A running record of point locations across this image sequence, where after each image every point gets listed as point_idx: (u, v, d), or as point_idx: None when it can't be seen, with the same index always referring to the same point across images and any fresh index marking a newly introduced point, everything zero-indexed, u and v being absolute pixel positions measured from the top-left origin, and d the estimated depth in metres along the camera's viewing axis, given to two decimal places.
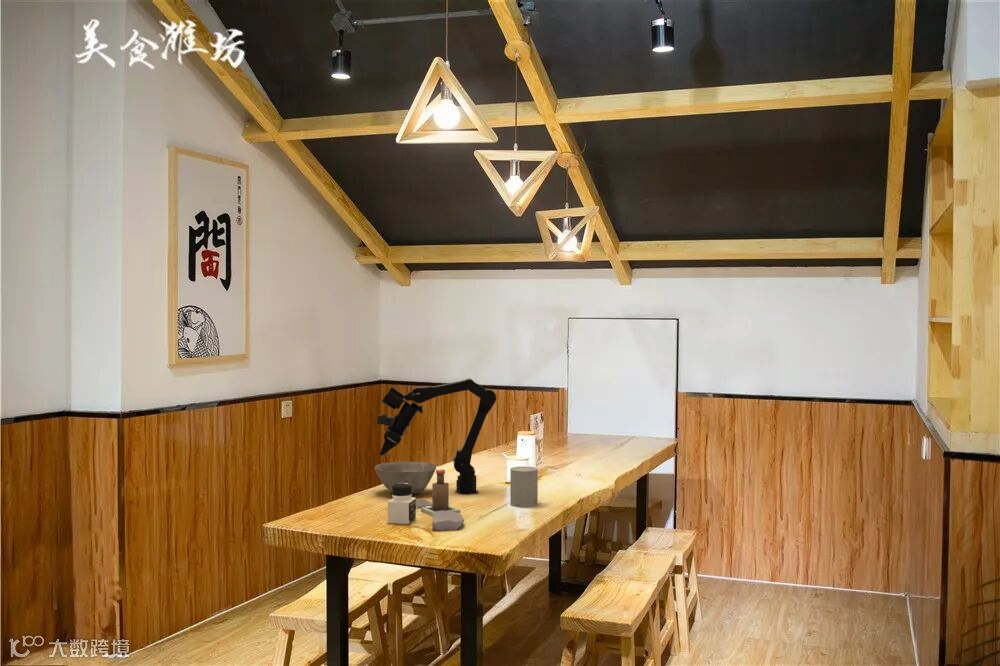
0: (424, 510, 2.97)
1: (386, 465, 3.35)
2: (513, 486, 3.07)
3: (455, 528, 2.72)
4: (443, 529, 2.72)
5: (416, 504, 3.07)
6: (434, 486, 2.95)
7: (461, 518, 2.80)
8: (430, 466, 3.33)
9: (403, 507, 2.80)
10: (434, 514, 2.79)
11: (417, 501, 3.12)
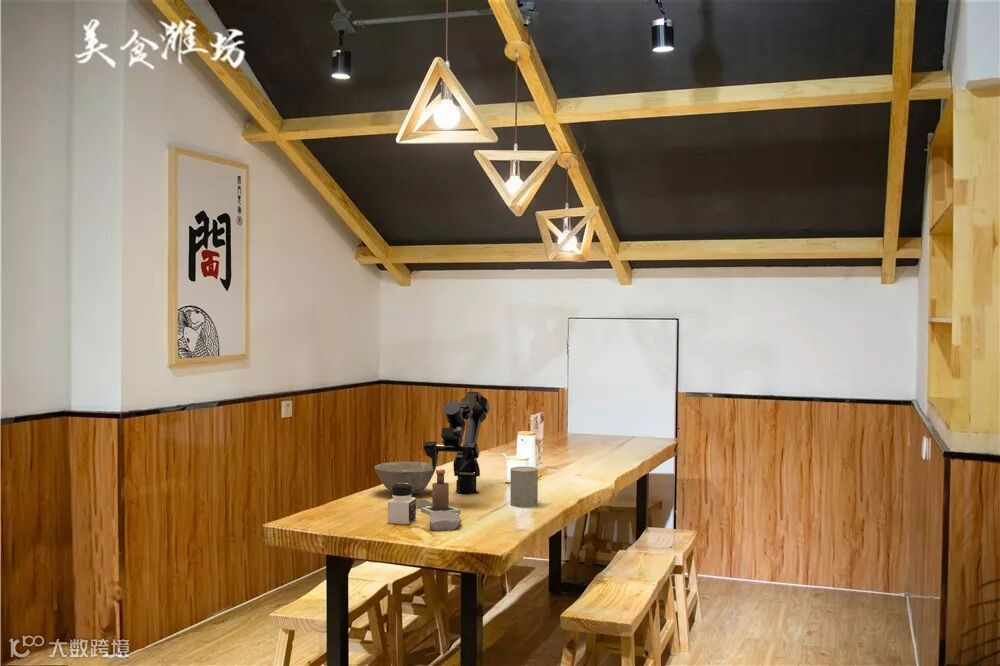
0: (424, 510, 2.97)
1: (386, 465, 3.35)
2: (513, 486, 3.07)
3: (452, 528, 2.72)
4: (440, 529, 2.72)
5: (416, 504, 3.07)
6: (434, 486, 2.95)
7: (458, 518, 2.80)
8: (430, 466, 3.33)
9: (403, 507, 2.80)
10: (431, 514, 2.79)
11: (417, 501, 3.12)
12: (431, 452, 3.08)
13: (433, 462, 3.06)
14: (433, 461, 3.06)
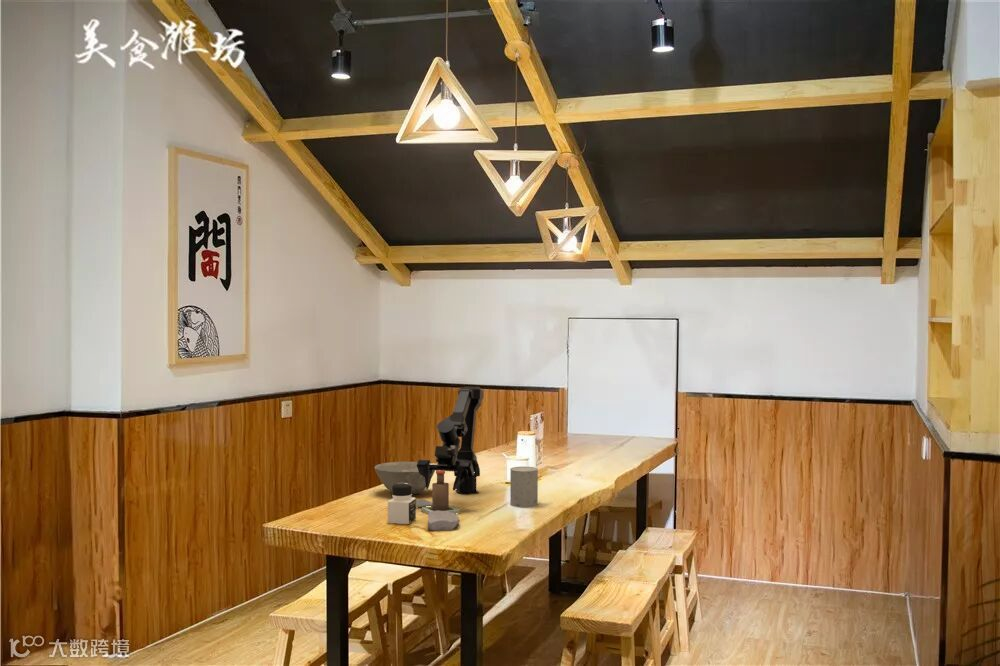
0: (424, 510, 2.97)
1: (386, 465, 3.35)
2: (513, 486, 3.07)
3: (450, 528, 2.72)
4: (438, 529, 2.72)
5: (416, 504, 3.07)
6: (434, 486, 2.95)
7: (456, 518, 2.80)
8: None
9: (403, 507, 2.80)
10: (429, 514, 2.79)
11: (417, 501, 3.12)
12: (424, 471, 3.01)
13: (426, 481, 2.98)
14: (426, 480, 2.99)
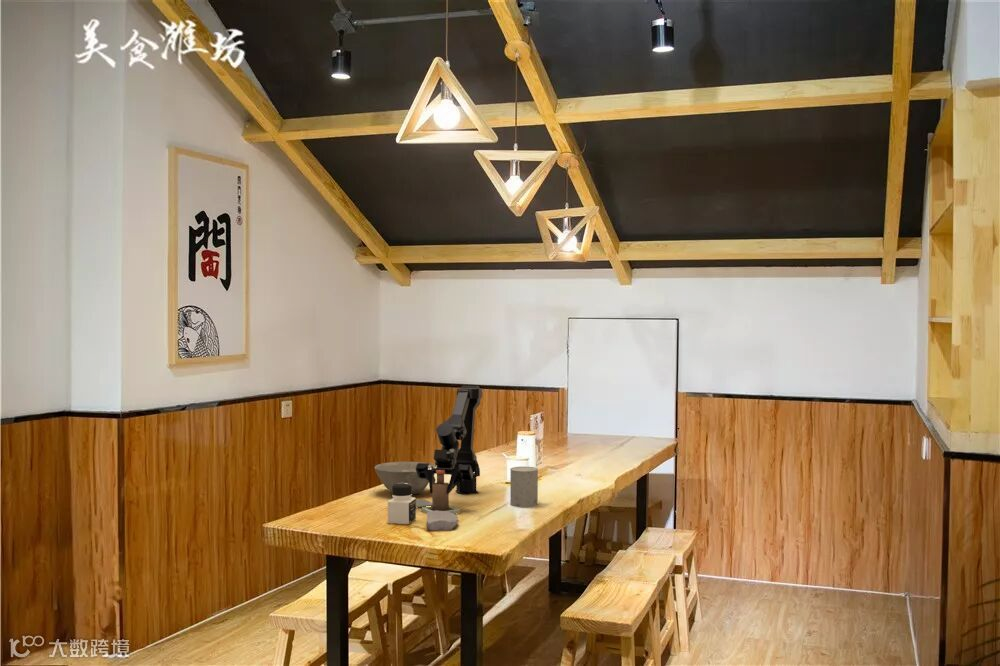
0: (424, 510, 2.97)
1: (386, 465, 3.35)
2: (513, 486, 3.07)
3: (449, 528, 2.72)
4: (437, 529, 2.72)
5: (416, 504, 3.07)
6: (434, 486, 2.95)
7: (455, 518, 2.80)
8: None
9: (403, 507, 2.80)
10: (428, 514, 2.79)
11: (417, 501, 3.12)
12: (428, 475, 2.99)
13: (430, 485, 2.97)
14: (430, 484, 2.97)
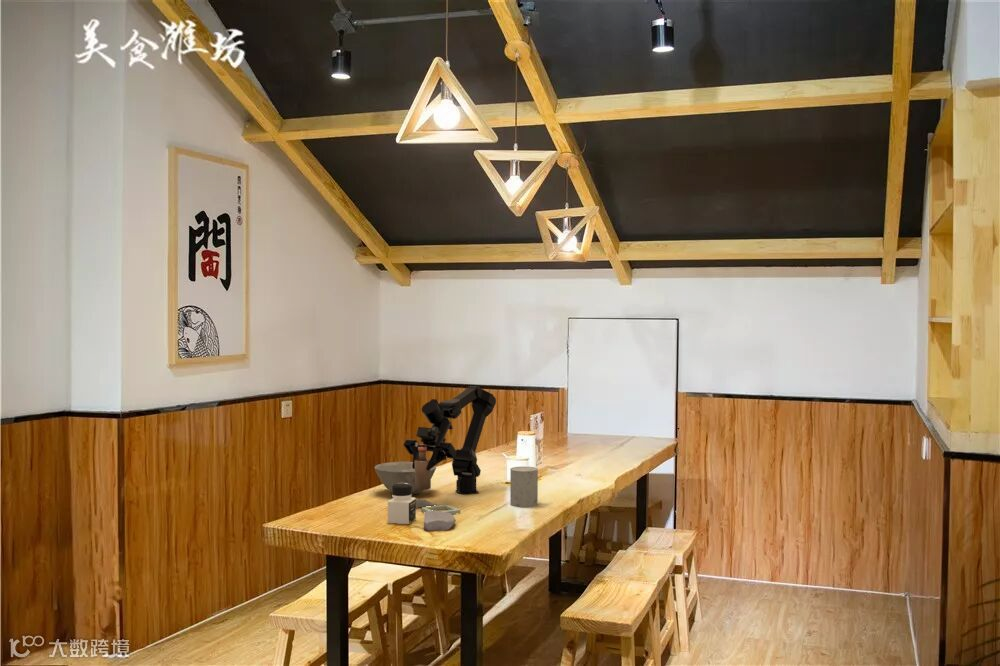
0: (424, 510, 2.97)
1: (386, 465, 3.35)
2: (513, 486, 3.07)
3: (446, 528, 2.72)
4: (434, 529, 2.72)
5: (416, 504, 3.07)
6: (415, 462, 3.03)
7: (453, 518, 2.80)
8: None
9: (403, 507, 2.80)
10: (426, 514, 2.79)
11: (417, 501, 3.12)
12: (413, 451, 3.08)
13: (413, 461, 3.06)
14: (414, 460, 3.06)
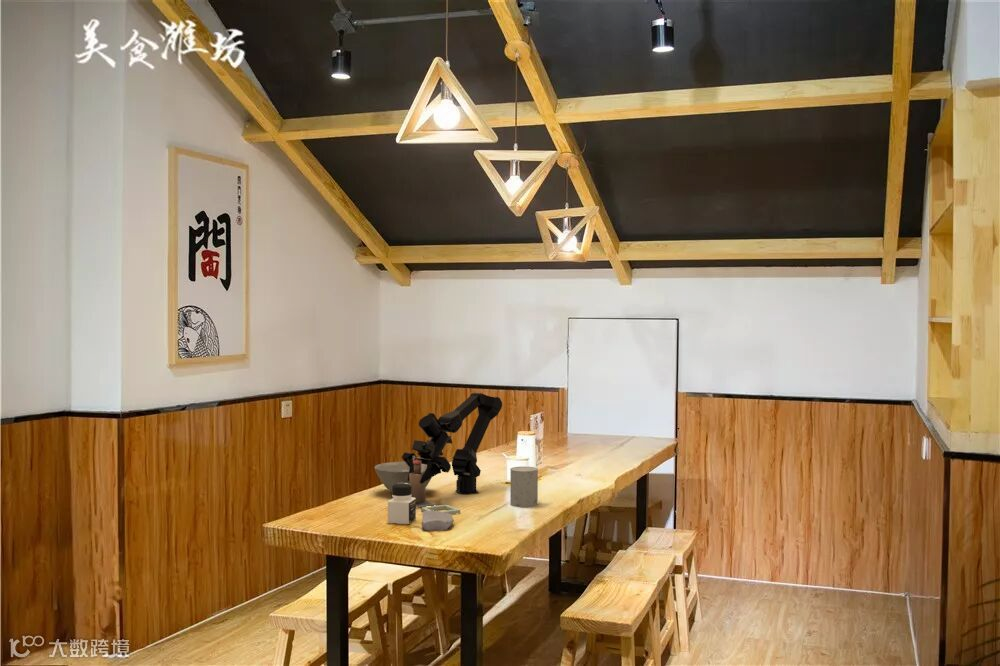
0: (424, 510, 2.97)
1: (386, 465, 3.35)
2: (513, 486, 3.07)
3: (444, 528, 2.72)
4: (432, 529, 2.72)
5: (416, 504, 3.07)
6: (409, 475, 3.08)
7: (451, 518, 2.79)
8: None
9: (403, 507, 2.80)
10: (424, 514, 2.79)
11: None
12: (410, 464, 3.12)
13: None
14: None
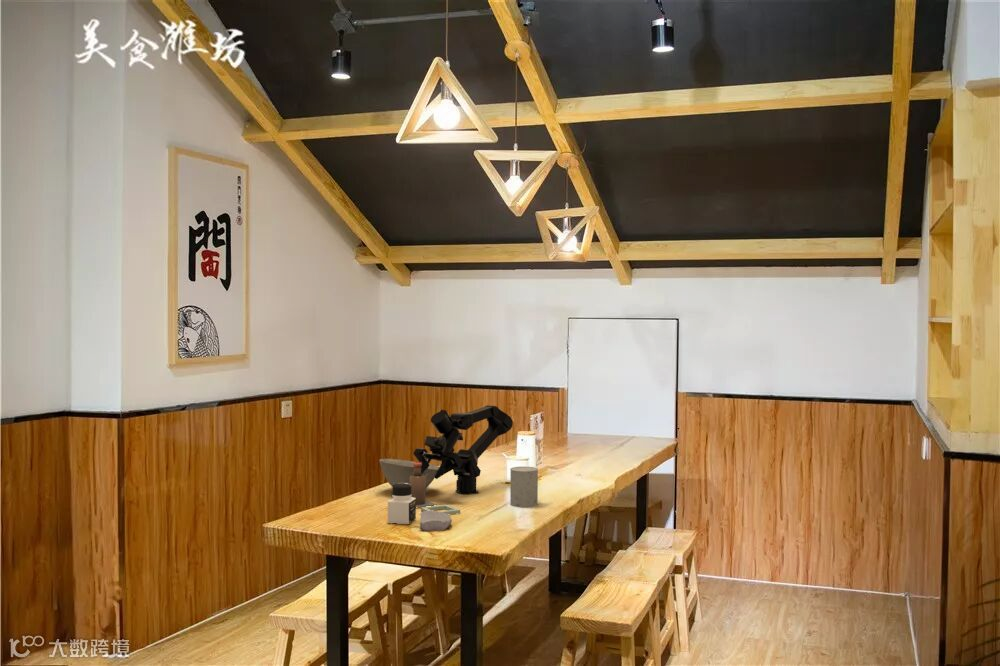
0: (424, 510, 2.97)
1: (388, 461, 3.36)
2: (513, 486, 3.07)
3: (443, 528, 2.72)
4: (431, 529, 2.72)
5: None
6: None
7: (449, 518, 2.79)
8: (432, 467, 3.36)
9: (403, 507, 2.80)
10: (422, 514, 2.79)
11: None
12: (419, 459, 3.17)
13: None
14: None
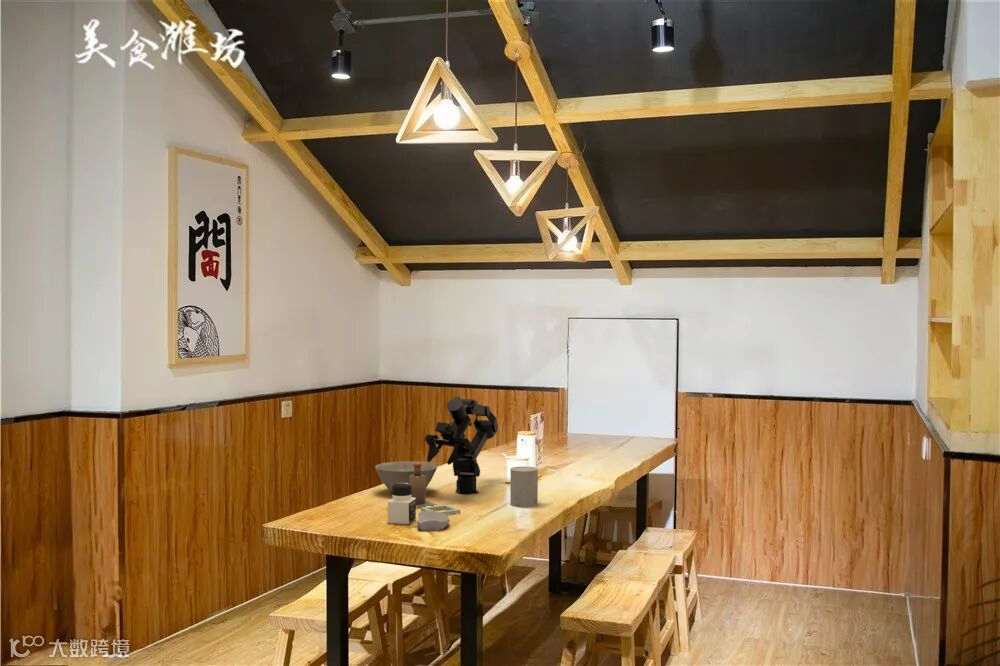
0: (424, 510, 2.97)
1: (383, 465, 3.35)
2: (513, 486, 3.07)
3: (440, 528, 2.72)
4: (428, 529, 2.72)
5: None
6: (410, 477, 3.08)
7: (446, 518, 2.79)
8: (428, 465, 3.36)
9: (403, 507, 2.80)
10: (419, 514, 2.79)
11: None
12: (429, 445, 3.20)
13: (428, 455, 3.18)
14: (429, 454, 3.18)
